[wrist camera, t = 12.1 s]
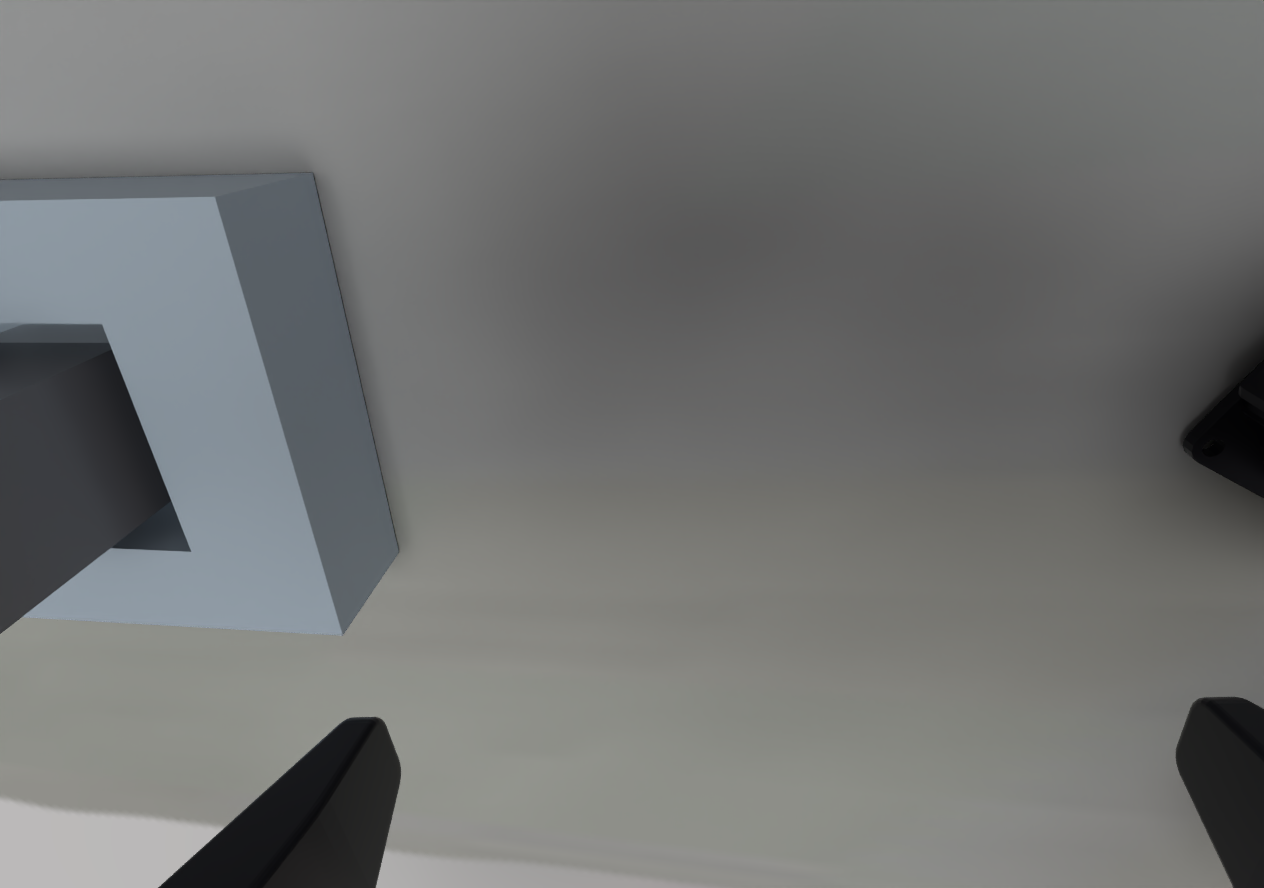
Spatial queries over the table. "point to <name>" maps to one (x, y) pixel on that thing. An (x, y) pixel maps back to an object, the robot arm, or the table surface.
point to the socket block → (214, 394)
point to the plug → (65, 460)
